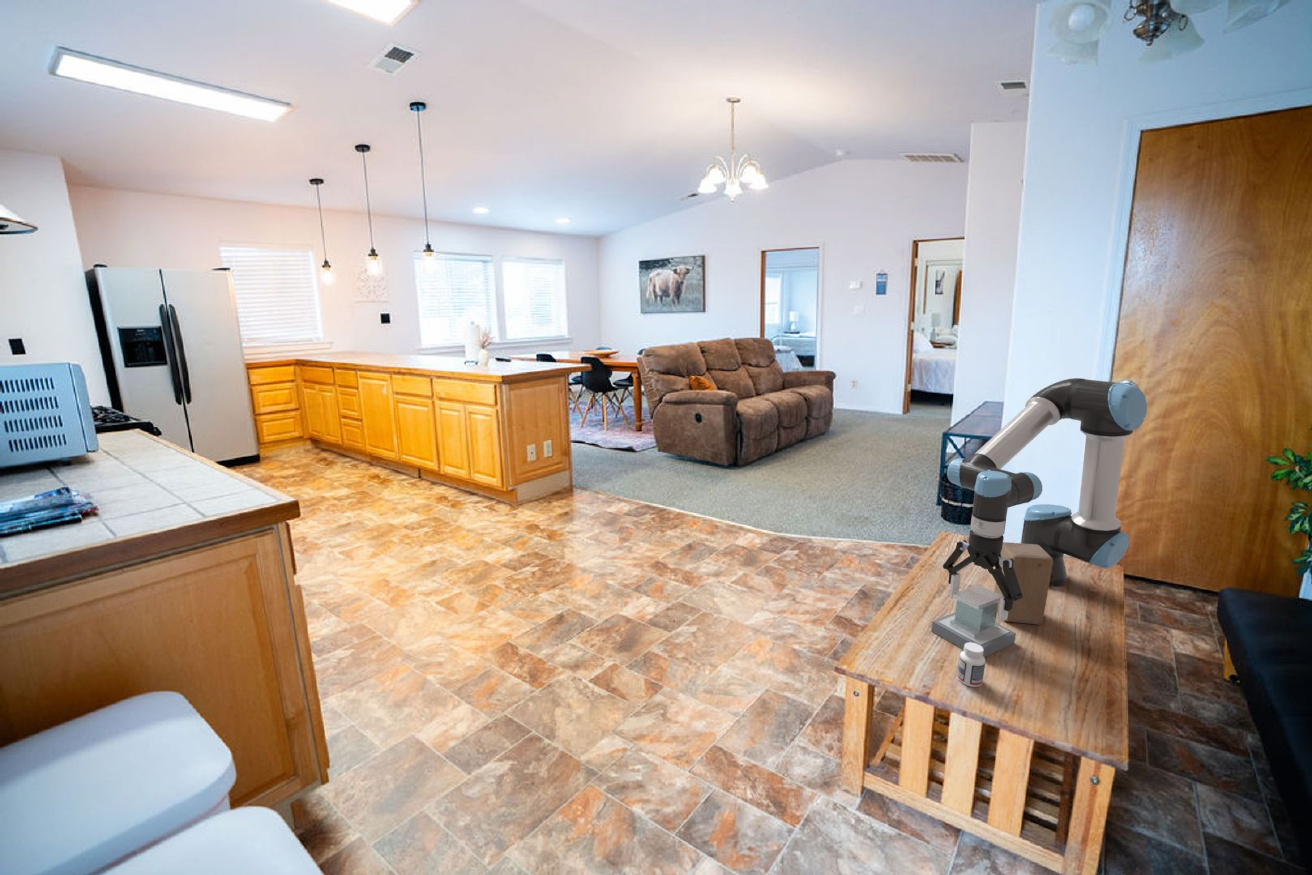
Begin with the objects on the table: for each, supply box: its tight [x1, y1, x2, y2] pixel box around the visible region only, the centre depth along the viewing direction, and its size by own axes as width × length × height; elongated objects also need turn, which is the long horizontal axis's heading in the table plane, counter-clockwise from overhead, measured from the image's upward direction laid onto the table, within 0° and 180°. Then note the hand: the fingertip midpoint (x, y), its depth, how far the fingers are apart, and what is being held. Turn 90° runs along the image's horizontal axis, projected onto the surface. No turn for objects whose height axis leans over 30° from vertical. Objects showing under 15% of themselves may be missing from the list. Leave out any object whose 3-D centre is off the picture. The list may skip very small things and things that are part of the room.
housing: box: [950, 584, 1003, 638], centre depth 155 cm, size 7×10×9 cm
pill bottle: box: [957, 642, 986, 688], centre depth 138 cm, size 5×5×9 cm
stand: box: [930, 612, 1017, 658], centre depth 156 cm, size 14×14×3 cm
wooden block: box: [993, 541, 1053, 625], centre depth 164 cm, size 10×10×20 cm
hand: (977, 607), depth 155 cm, fingers open, 13 cm apart
